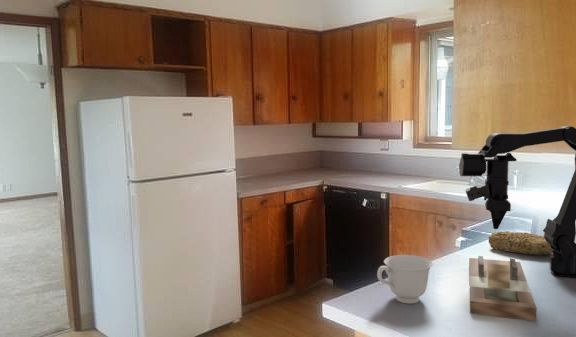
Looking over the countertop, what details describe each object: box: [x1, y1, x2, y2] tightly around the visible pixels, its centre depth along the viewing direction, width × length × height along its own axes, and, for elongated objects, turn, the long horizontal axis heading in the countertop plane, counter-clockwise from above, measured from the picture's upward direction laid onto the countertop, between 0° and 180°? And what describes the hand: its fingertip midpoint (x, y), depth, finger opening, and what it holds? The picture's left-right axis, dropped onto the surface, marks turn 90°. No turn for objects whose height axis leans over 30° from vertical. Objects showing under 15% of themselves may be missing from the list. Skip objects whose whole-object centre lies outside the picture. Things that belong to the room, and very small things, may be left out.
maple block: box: [487, 264, 510, 289], centre depth 122 cm, size 5×5×4 cm
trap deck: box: [468, 255, 537, 322], centre depth 125 cm, size 14×35×6 cm, turn 159°
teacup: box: [376, 254, 433, 305], centre depth 120 cm, size 12×15×10 cm
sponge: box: [488, 230, 555, 256], centre depth 158 cm, size 13×8×20 cm
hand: (495, 228), depth 138 cm, fingers closed
